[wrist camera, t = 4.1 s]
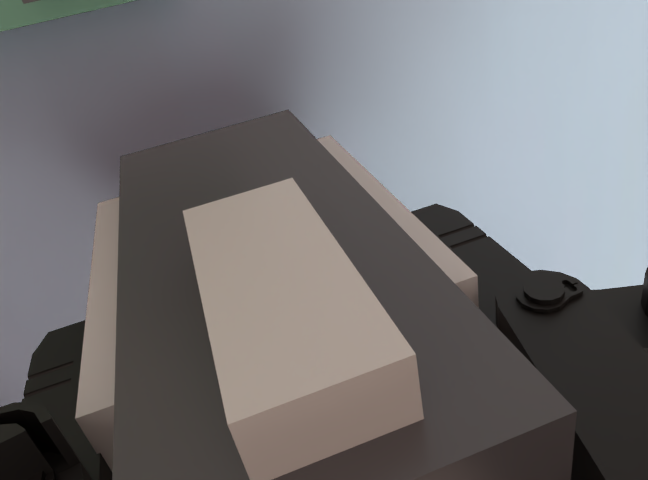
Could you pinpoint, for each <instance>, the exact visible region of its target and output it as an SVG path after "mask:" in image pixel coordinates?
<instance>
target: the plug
mask: <svg viewBox="0 0 648 480" xmlns="http://www.w3.org/2000/svg"><path fill="white" fill-rule="evenodd" d="M576 416H577V410H576V409H575V408H574V407H573V406H572V405H571V404H570V403H569V402H568V401H567V400H566V399H565V398H564V397H563V396H562V395H561V394H560V393H559V392H558V391H557V390H556V389H555V387H554V386H553V385H552V384H551V383H550V382H549V381H548V380H547V379H546V378H545V377H544V376H543V375H542V374H541V373H540V372H539V371H538V370H537V369H536V368H535V367H534V366H533V365H532V363H531V362H530V361H529V360H528V359H527V358H526V357H525V356H524V355H523V354H522V353H521V352H520V351H519V350H518V349H517V348H516V347H515V346H514V345H513V344H512V343H511V342H510V341H509V339H508V338H507V337H506V336H505V335H504V334H503V333H502V332H501V331H500V330H499V329H498V328H497V327H496V326H495V325H494V324H493V323H492V322H491V321H490V320H489V319H488V318H487V316H486V315H485V314H484V313H483V312H482V311H481V310H480V309H479V308H478V307H477V306H476V305H475V304H474V303H473V302H472V301H471V300H470V299H469V298H468V297H467V296H466V295H465V294H464V292H463V291H462V290H461V289H460V288H459V287H458V286H457V285H456V284H455V283H454V282H453V281H452V280H451V279H450V278H449V277H448V276H447V275H446V274H445V273H444V272H443V271H442V269H441V268H440V267H439V266H438V265H437V264H436V263H435V262H434V261H433V260H432V259H431V258H430V257H429V256H428V255H427V254H426V253H425V252H424V251H423V250H422V249H421V248H420V247H419V245H418V244H417V243H416V242H415V241H414V240H413V239H412V238H411V237H410V236H409V235H408V234H407V233H406V232H405V231H404V230H403V229H402V228H401V227H400V226H399V225H398V224H397V222H396V221H395V220H394V219H393V218H392V217H391V216H390V215H389V214H388V213H387V212H386V211H385V210H384V209H383V208H382V207H381V206H380V205H379V204H378V203H377V202H376V201H375V200H374V198H373V197H372V196H371V195H370V194H369V193H368V192H367V191H366V190H365V189H364V188H363V187H362V186H361V185H360V184H359V183H358V182H357V181H356V180H355V179H354V178H353V177H352V176H351V174H350V173H349V172H348V171H347V170H346V169H345V168H344V167H343V166H342V165H341V164H340V163H339V162H338V161H337V160H336V159H335V158H334V157H333V156H332V155H331V154H330V153H329V151H328V150H327V149H326V148H325V147H324V146H323V145H322V144H321V143H320V142H319V141H318V140H317V139H316V138H315V137H314V136H313V135H312V134H311V133H310V132H309V131H308V130H307V129H306V127H305V126H304V125H303V124H302V123H301V122H300V121H299V120H298V119H297V118H296V117H295V116H294V115H293V114H292V113H291V112H290V111H289V110H285V111H282V112H278V113H275V114H271V115H267V116H264V117H260V118H257V119H253V120H250V121H246V122H242V123H239V124H235V125H232V126H228V127H224V128H221V129H217V130H214V131H210V132H207V133H203V134H199V135H196V136H192V137H189V138H185V139H181V140H178V141H174V142H171V143H167V144H164V145H160V146H156V147H153V148H149V149H146V150H142V151H138V152H135V153H131V154H128V155H124V156H121V157H120V191H119V231H118V271H117V312H116V352H115V392H114V432H113V473H112V480H571V470H572V460H573V449H574V438H575V427H576Z"/></svg>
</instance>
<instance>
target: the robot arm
mask: <svg viewBox="0 0 648 480" xmlns="http://www.w3.org/2000/svg"><path fill="white" fill-rule="evenodd" d="M317 140H318V141H319V142H320V143H321V144H322V145H323V146H324V147H325V148H326V149H327V150H328V151H329V153H330V154H331V155H332V156H333V157H334V158H335V159H336V160H337V161H338V162H339V163H340V164H341V165H342V166H343V167H344V168H345V169H346V170H347V171H348V172H349V173H350V174H351V176H352V177H353V178H354V179H355V180H356V181H357V182H358V183H359V184H360V185H361V186H362V187H363V188H364V189H365V190H366V191H367V192H368V193H369V194H370V195H371V196H372V197H373V198H374V200H375V201H376V202H377V203H378V204H379V205H380V206H381V207H382V208H383V209H384V210H385V211H386V212H387V213H388V214H389V215H390V216H391V217H392V218H393V219H394V220H395V221H396V222H397V224H398V225H399V226H400V227H401V228H402V229H403V230H404V231H405V232H406V233H407V234H408V235H409V236H410V237H411V238H412V239H413V240H414V241H415V242H416V243H417V244H418V245H419V247H420V248H421V249H422V250H423V251H424V252H425V253H426V254H427V255H428V256H429V257H430V258H431V259H432V260H433V261H434V262H435V263H436V264H437V265H438V266H439V267H440V268H441V269H442V271H443V272H444V273H445V274H446V275H447V276H448V277H449V278H450V279H451V280H452V281H453V282H454V283H455V284H456V285H457V286H458V287H459V288H460V289H461V290H462V291H463V292H464V294H465V295H466V296H467V297H468V298H469V299H470V300H471V301H472V302H473V303H474V304H475V305H476V306H477V307H478V308H479V309H480V310H481V311H482V312H483V313H484V314H485V315H486V316H487V318H488V319H489V320H490V321H491V322H492V323H493V324H494V325H495V326H496V327H497V328H498V329H499V330H500V331H501V332H502V333H503V334H504V335H505V336H506V337H507V338H508V339H509V341H510V342H511V343H512V344H513V345H514V346H515V347H516V348H517V349H518V350H519V351H520V352H521V353H522V354H523V355H524V356H525V357H526V358H527V359H528V360H529V361H530V362H531V363H532V365H533V366H534V367H535V368H536V369H537V370H538V371H539V372H540V373H541V374H542V375H543V376H544V377H545V378H546V379H547V380H548V381H549V382H550V383H551V384H552V385H553V386H554V387H555V389H556V390H557V391H558V392H559V393H560V394H561V395H562V396H563V397H564V398H565V399H566V400H567V401H568V402H569V403H570V404H571V405H572V406H573V407H574V408H575V409H576V410H577V416H576V427H575V438H574V449H573V460H572V470H571V480H648V267H647V270H646V273H645V278H644V285H637V286H628V287H620V288H611V289H602V290H590V289H589V288H588V287H587V286H586V285H584V284H583V283H582V282H580V281H579V280H578V279H577V278H574V277H571V276H569V275H566V274H563V273H560V272H554V271H546V270H536V271H531V270H530V269H529V268H527V267H526V266H525V265H524V264H522V263H521V262H520V261H519V260H518V259H516V258H515V257H514V256H513V255H511V254H510V253H509V252H508V251H507V250H505V249H504V248H503V247H502V246H500V245H499V244H498V243H497V242H495V241H494V240H493V239H492V238H491V237H487V236H486V233H484V232H483V231H482V230H481V229H479V228H478V227H477V226H475V227H474V224H473V223H472V222H471V221H470V220H468V219H467V218H466V217H465V216H464V215H462V214H461V213H460V212H459V211H456V210H453V209H450V208H447V207H444V206H441V205H438V204H434V205H431V206H428V207H424V208H421V209H418V210H415V211H412V212H410V211H409V210H408V209H407V208H406V207H405V206H404V205H403V204H402V203H401V202H400V201H399V200H398V199H397V198H396V197H395V196H393V195H392V194H391V193H390V192H389V191H388V190H387V189H386V188H385V187H384V186H383V185H382V184H381V183H380V182H379V181H378V180H377V179H376V178H375V177H374V176H372V175H371V174H370V173H369V172H368V171H367V170H366V169H365V168H364V167H363V166H362V165H361V164H360V163H359V162H358V161H357V160H356V159H355V158H354V157H353V156H351V155H350V154H349V153H348V152H347V151H346V150H345V149H344V148H343V147H342V146H341V145H340V144H339V143H338V142H337V141H336V140H335V139H334V138H333V137H331V136H330V135H329V136H326V137H323V138H319V139H317ZM118 231H119V197H117V198H113V199H110V200H107V201H103V202H100V203H98V206H97V215H96V225H95V234H94V244H93V253H92V263H91V272H90V282H89V291H88V301H87V311H86V320H84V321H81V322H78V323H75V324H72V325H69V326H66V327H63V328H60V329H57V330H54V331H51V332H48V334H47V335H46V336H45V338H44V339H43V341H42V342H41V343H40V345H39V346H38V348H37V349H36V350H35V352H34V353H33V355H32V359H31V363H30V368H29V372H28V379H29V380H27V381H26V385H25V390H24V397H25V398H24V399H22V402H19V403H12V404H9V405H6V406H3V407H0V480H112V473H113V432H114V392H115V352H116V312H117V271H118Z"/></svg>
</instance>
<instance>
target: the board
mask: <svg viewBox="0 0 648 480" xmlns="http://www.w3.org/2000/svg"><path fill="white" fill-rule="evenodd" d="M132 1H136V0H0V32H1V31H6V30H10V29H14V28H19V27H23V26H27V25H32V24H36V23H40V22H45V21H49V20H54V19H58V18H62V17H67V16H71V15H75V14H80V13H84V12H88V11H93V10H97V9H101V8H106V7H110V6H115V5H119V4H123V3H128V2H132Z"/></svg>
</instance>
